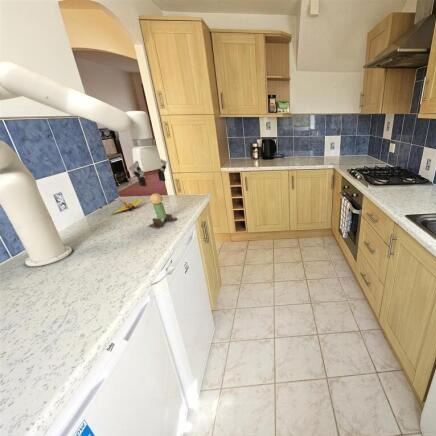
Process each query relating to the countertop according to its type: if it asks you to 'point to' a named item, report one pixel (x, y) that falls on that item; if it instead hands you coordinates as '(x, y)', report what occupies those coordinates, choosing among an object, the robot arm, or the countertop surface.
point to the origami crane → (128, 205)
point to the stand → (158, 223)
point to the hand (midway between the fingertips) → (153, 183)
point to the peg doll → (158, 205)
